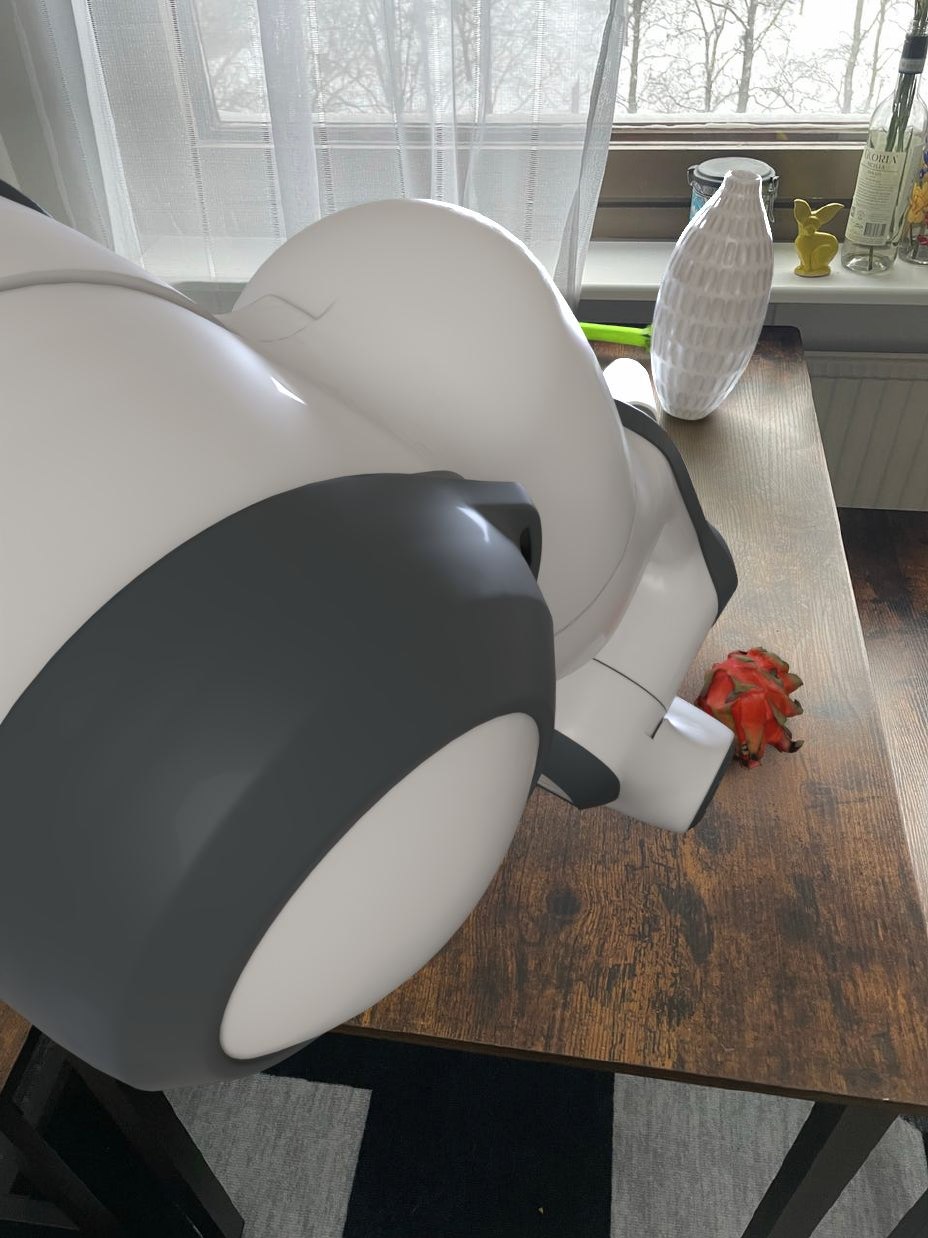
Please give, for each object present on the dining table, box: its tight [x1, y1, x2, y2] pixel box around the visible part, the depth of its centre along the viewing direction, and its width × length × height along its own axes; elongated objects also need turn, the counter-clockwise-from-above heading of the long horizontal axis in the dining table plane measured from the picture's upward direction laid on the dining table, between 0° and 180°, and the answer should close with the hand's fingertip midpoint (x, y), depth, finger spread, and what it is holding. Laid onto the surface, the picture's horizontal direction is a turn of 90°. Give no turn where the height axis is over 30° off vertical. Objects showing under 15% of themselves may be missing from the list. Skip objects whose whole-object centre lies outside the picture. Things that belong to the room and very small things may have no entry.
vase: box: [649, 169, 775, 421], centre depth 109 cm, size 13×13×28 cm
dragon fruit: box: [693, 645, 805, 771], centre depth 76 cm, size 8×8×12 cm
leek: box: [577, 321, 653, 355], centre depth 131 cm, size 6×7×30 cm
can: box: [602, 357, 660, 425], centre depth 114 cm, size 6×6×12 cm
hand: (361, 614), depth 72 cm, fingers open, 8 cm apart
